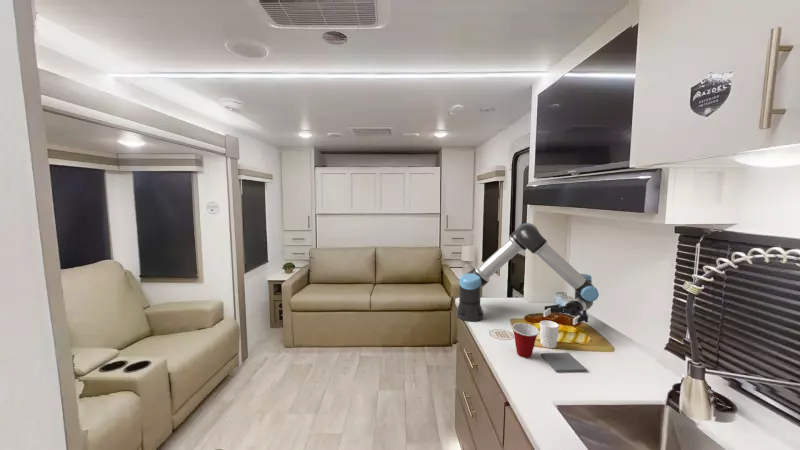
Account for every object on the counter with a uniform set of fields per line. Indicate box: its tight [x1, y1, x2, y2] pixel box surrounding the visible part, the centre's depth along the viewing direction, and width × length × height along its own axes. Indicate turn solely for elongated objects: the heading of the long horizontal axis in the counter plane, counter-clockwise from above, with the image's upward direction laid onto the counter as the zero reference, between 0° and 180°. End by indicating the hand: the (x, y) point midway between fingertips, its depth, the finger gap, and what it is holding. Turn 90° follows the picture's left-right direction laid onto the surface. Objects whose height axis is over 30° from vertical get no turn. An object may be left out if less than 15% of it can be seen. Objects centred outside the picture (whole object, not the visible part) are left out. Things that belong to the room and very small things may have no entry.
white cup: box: [539, 320, 560, 349], centre depth 143 cm, size 8×8×10 cm
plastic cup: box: [511, 322, 540, 359], centre depth 134 cm, size 11×11×12 cm
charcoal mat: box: [540, 352, 588, 373], centre depth 128 cm, size 13×12×1 cm
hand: (558, 317), depth 149 cm, fingers open, 13 cm apart
